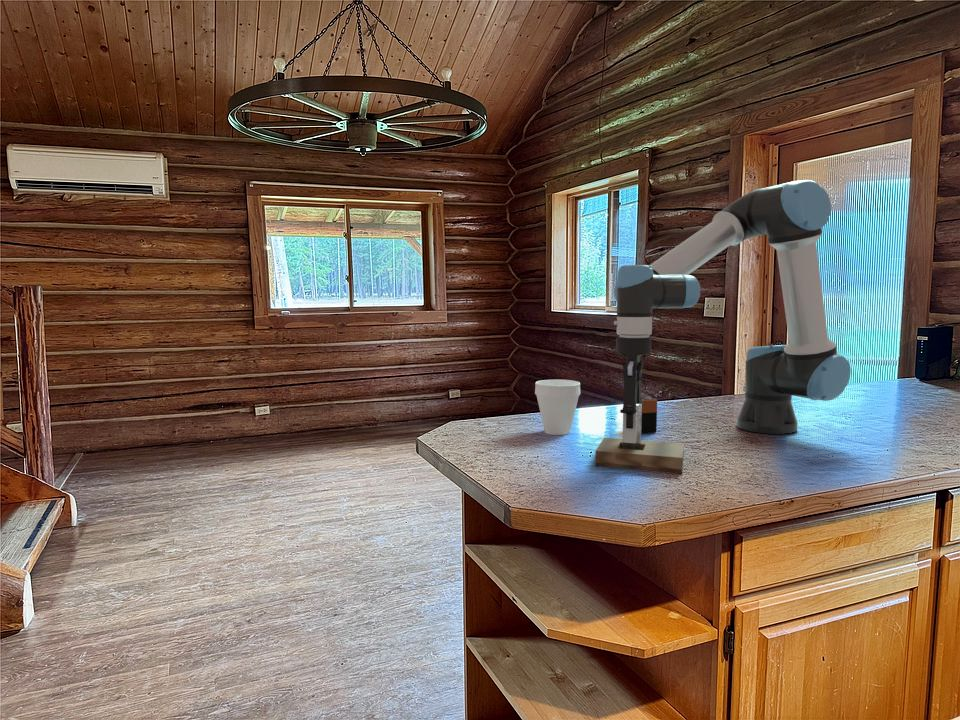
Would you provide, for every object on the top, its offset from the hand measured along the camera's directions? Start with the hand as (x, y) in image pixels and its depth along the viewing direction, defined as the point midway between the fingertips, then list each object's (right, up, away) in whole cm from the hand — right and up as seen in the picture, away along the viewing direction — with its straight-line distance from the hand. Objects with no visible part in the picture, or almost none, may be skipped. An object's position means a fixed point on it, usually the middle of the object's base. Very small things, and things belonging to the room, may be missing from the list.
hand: (631, 437), depth 136 cm
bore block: (+2, -5, 0) cm, 6 cm away
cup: (-13, -2, +30) cm, 33 cm away
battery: (+11, -2, +31) cm, 33 cm away
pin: (0, -4, +1) cm, 4 cm away
